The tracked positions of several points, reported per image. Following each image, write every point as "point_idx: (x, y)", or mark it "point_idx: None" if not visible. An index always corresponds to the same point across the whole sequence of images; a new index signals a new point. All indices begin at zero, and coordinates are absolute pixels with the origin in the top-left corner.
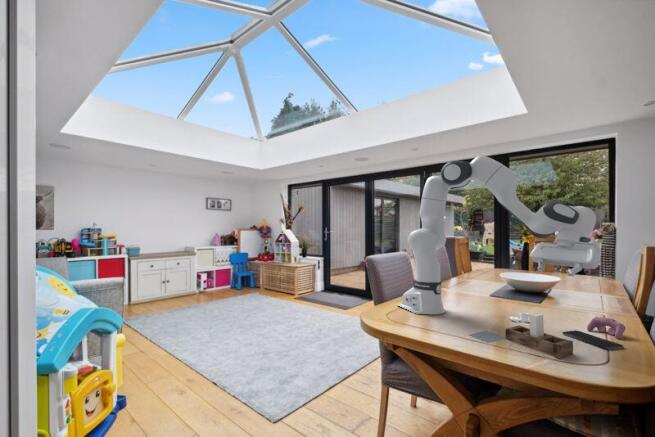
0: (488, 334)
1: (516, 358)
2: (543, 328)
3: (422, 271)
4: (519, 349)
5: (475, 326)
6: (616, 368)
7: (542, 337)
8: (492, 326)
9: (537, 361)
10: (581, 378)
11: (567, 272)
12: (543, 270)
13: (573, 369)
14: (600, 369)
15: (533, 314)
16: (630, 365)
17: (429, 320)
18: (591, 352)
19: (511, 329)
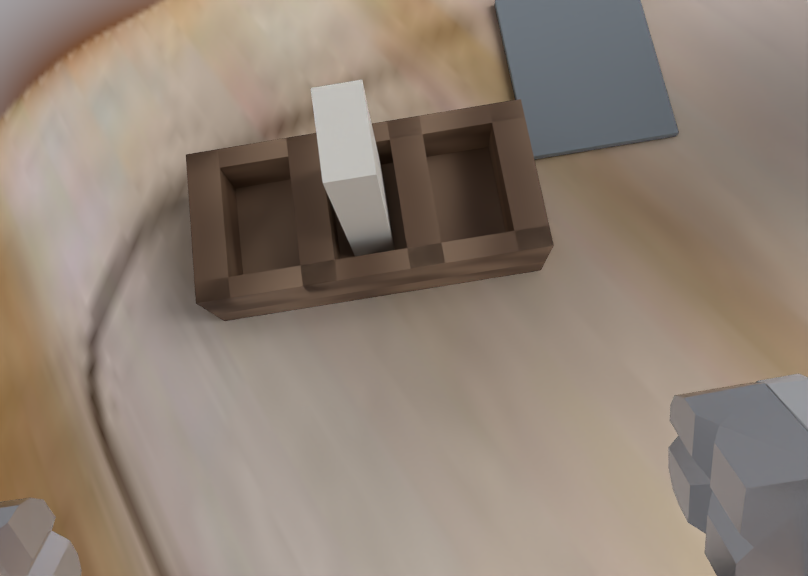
0: (608, 94)
1: (303, 4)
2: (340, 222)
3: None
4: (379, 103)
5: (791, 145)
6: (34, 358)
7: (314, 185)
8: (767, 261)
9: (242, 67)
10: (59, 97)
11: (12, 506)
12: (688, 499)
13: (121, 146)
14: (65, 267)
15: (362, 120)
16: (15, 476)
17: None
18: (200, 461)
19: (496, 124)
